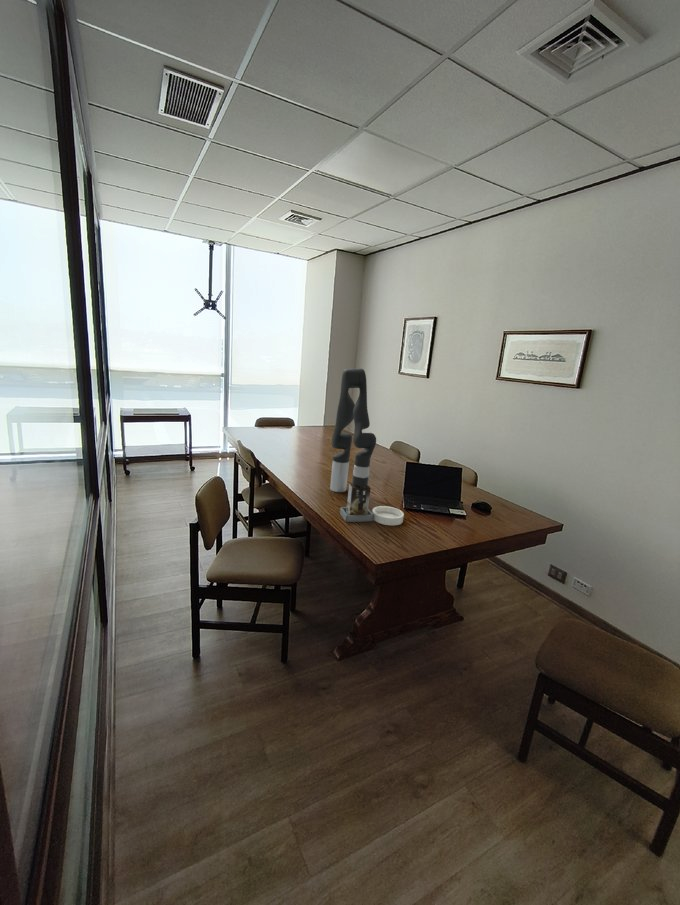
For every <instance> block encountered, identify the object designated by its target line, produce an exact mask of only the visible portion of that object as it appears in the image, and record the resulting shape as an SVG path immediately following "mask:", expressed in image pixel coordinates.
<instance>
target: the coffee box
mask: <svg viewBox="0 0 680 905" xmlns="http://www.w3.org/2000/svg"><path fill="white" fill-rule="evenodd" d="M348 484H349V485H348V486H349V487H348V493H347V502H346V507H347V508H346V514H347V515H367V512H368V509H369V504H370V496H371V495H370V494H371V486H370V485H367V486H365V487H364V491H367V494H366V503H363V510H362V511H359V510H358V503H359V501H358V498H357V495H358V494H359V487H358V486H356V485H354V484H353V483H352V482H350V483H348ZM359 496H361V494H359Z"/></svg>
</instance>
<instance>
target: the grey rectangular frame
mask: <svg viewBox="0 0 680 905" xmlns="http://www.w3.org/2000/svg"><path fill="white" fill-rule="evenodd" d="M339 508H340V509H339V514H340V516H341V517H342V518H343V520H344V521H345V523H353V522H354V523H356V522H357V523H358V522H362V523H363V522H374V520H373V518H374V515H373V514H372V510H370V509H369V508H368V512H367V515H347V514H346V508H347V506H340V507H339Z"/></svg>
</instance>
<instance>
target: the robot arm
mask: <svg viewBox="0 0 680 905" xmlns="http://www.w3.org/2000/svg"><path fill="white" fill-rule="evenodd" d="M366 375H367V374H366V371H365V369H364V368H345V369H343V371H342V375H341V383H340V394H339V400H338V406H337V410H336V418H335V425H334V429H333V433H332V437H331V446H332V448H333V449H335V450H343V451H340V452H338V453H335V454H334V455H333V456H332V464H331V474H330V486H329V489H330V491H332V492H335V493H344V492H346V491H347V485H348V475H349V467H350V466H349V465H350V456H351V448H352V443H353V445H354V447H355V448H357V449H363V450H362V451H359V452H357V453H356V454H355V456H354V466H353V472H352V480H351V481H352V482H351V483H353V484H354V485H356V486H358V487H359V494H361V496H359V494H358V495H357V498H358V501H359V503H358V510H359V511H362V510H363V503H366V494H367V491H364V487H365V486H367V485H368V484H369V476H370V463H371V458H372V455H373V453H374V450H375V447H376V444H377V437H376V435H375V434H374V433H372V432H363V430H365V429H368V428H370V424H371V423H370V416H369V412H368V392H367V391H368V389H367V388H368V387H367V384H368V383H367V376H366ZM350 389H359V394H358V397H357V400H356V402H354V400H353V399H352V397H351V395H350V393H349V391H350ZM352 422H354V431H353V435H352V434H351V433H350V432H343V430H344V429H345V428H347V427H348V426H349V425H350V424H351V423H352ZM368 486H369V485H368Z"/></svg>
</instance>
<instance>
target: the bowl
mask: <svg viewBox="0 0 680 905" xmlns="http://www.w3.org/2000/svg"><path fill="white" fill-rule="evenodd" d="M371 513H372V514H373V515H374V518H373V522H376V523H378V524H381V525H385V526H399V525H401V524H403V522H404V517H405V513H404V511H402V510H400V509H399V508H396V507H393V506H388V505H387V506H386V505H379V506H378V505H377V506H375V507H373V508H372V510H371Z"/></svg>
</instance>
